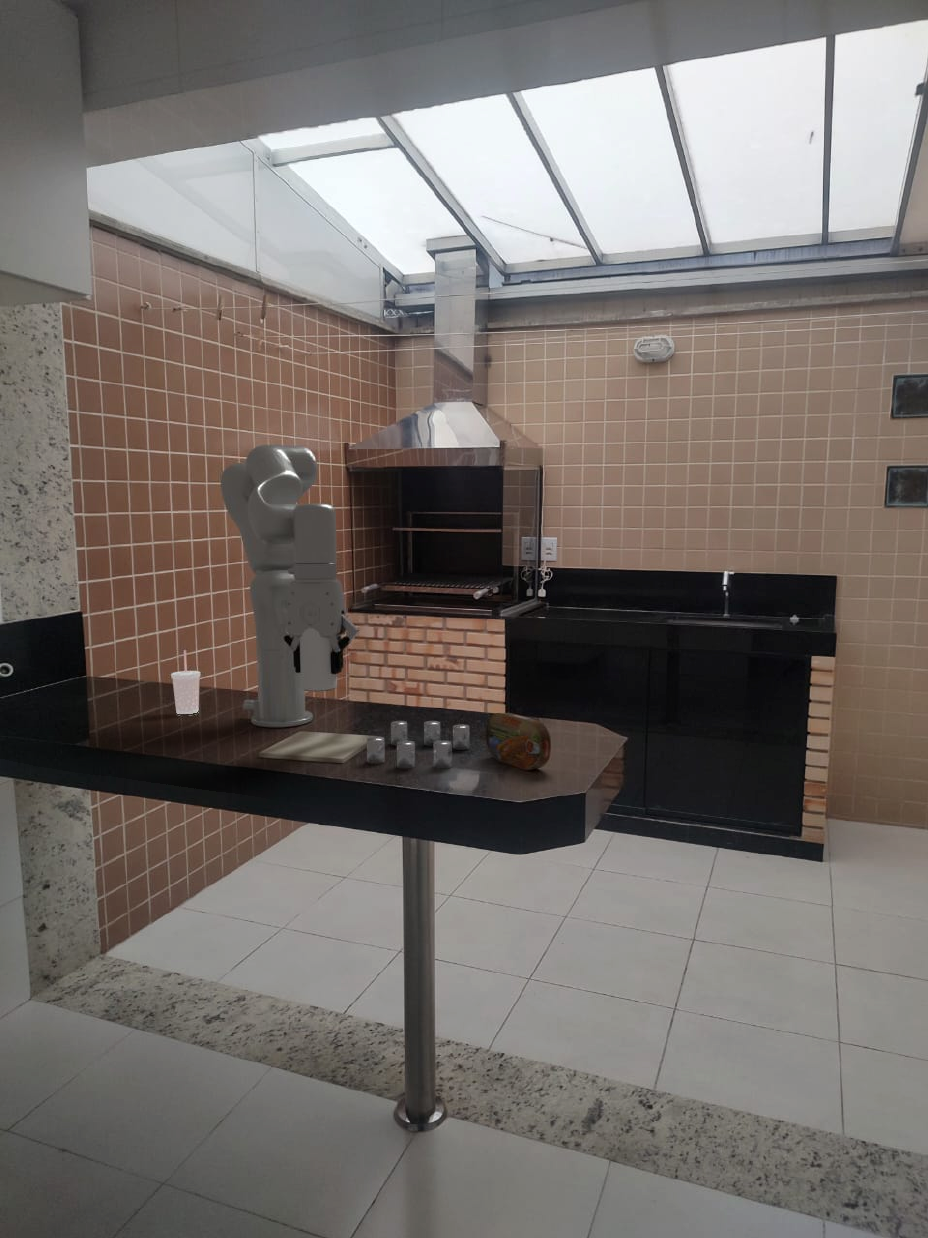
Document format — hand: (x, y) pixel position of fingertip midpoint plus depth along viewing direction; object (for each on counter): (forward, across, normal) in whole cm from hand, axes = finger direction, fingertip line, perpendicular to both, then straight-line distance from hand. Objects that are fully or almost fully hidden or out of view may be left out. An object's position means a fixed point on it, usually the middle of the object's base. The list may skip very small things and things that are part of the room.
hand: (318, 671), depth 147 cm
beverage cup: (+14, -41, +20) cm, 48 cm away
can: (+3, 0, 0) cm, 3 cm away
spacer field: (+14, +19, +1) cm, 24 cm away
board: (+14, 0, 0) cm, 14 cm away
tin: (+15, +37, -1) cm, 40 cm away
